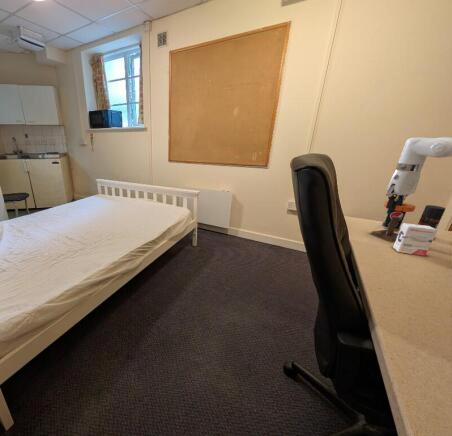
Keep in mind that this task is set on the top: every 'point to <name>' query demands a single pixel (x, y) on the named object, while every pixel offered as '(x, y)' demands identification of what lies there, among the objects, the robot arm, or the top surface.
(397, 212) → the beverage can
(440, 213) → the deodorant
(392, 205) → the robot arm
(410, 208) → the orange ring
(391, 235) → the rack
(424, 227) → the ink box
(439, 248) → the top surface
